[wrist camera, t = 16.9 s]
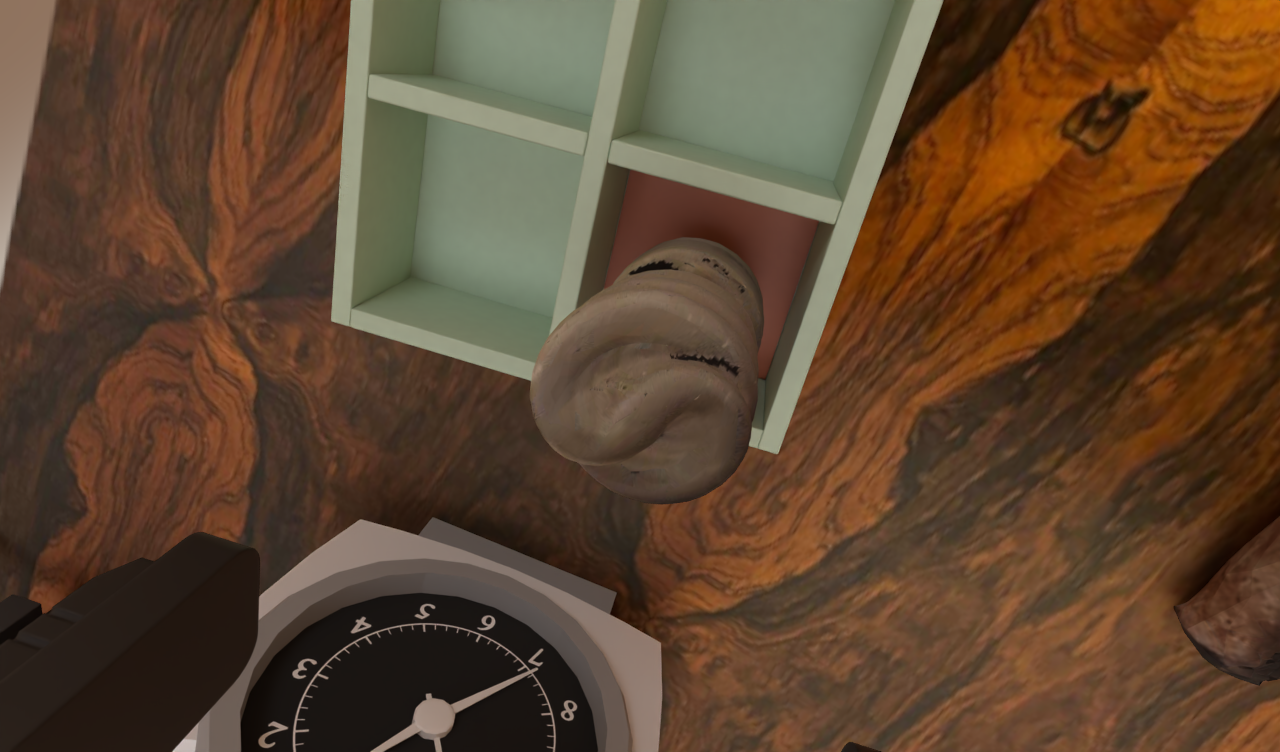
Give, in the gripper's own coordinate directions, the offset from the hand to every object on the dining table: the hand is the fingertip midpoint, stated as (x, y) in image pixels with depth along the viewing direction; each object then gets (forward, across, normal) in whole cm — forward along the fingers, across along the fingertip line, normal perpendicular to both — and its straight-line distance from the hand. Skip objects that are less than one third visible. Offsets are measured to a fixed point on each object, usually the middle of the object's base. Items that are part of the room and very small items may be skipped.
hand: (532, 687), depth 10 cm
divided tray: (+23, +4, -4) cm, 24 cm away
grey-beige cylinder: (+23, 0, 0) cm, 23 cm away
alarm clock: (+24, +5, +20) cm, 31 cm away
